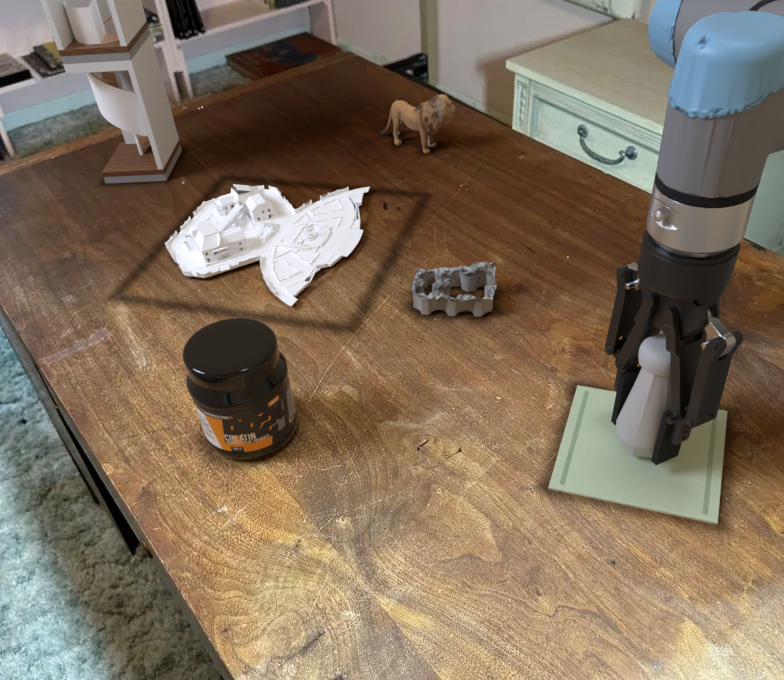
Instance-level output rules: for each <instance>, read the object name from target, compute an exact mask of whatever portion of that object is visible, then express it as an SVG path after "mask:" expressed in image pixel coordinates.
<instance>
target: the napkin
mask: <svg viewBox="0 0 784 680" xmlns="http://www.w3.org/2000/svg"><path fill="white" fill-rule="evenodd" d="M574 392H575V393H574V396H573V400H572V403H571V406H570V410H569V413H568V417H567V420H566V424H565V427H564V431H563V435H562V439H561V442H560V446H559V449H558V452H557V456H556V459H555V463H554V467H553V470H552V474H551V477H550V480H549V483H548V490H552V491H557V492H561V493H566V494H571V495H574V496H575V495H576V496H579V497H580V496H581V497H585V498H589V499H595V500H598V501H603V502H608V503H614V504H618V505H623V506H626V507H627V506H628V507H632V508H637V509H641V510H646V511H650V512H655V513H661V514H666V515H669V516H674V517H680V518H685V519H689V520H693V521H699V522H704V523H708V524H713V525H718V523H719V515H720V503H721V501H720V500H721V491H722V480H723V479H722V478H723V468H724V457H725V444H726V433H727V432H726V431H727V421H728V410H724V409H720V408H719V409H718V413H717V417H716V418H715V419H714V420H711V421H709V422H707V423H704V424H702V425H700V426H697V427H695V428H692V429H691V433H690V436H689V438H688V439H687V440H686V441H683V442H682V444H681V447H680V451H679V454H678V456H677V457H674V458H672V459H670V460H667V461H665V462H663V463H661V464H658V465H655V464H654V463H653V462H652V461H651V459H652V457H638V456H633V455H632V454H630V453H629V452H628V451H627V450H626V449H625V448H624V447H623V446H621V443H620V441H619V438H618V435H617V429H616V425H614V424H613V423H612V422H611V418H612V413H613V408H614V402H615V397H616V392H617V391H615V390H614V391H613V390H608V389H602V388H597V387H596V388H595V387H591V386H584V385H579V384H577V385H576V389H575V391H574Z"/></svg>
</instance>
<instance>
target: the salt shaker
mask: <svg viewBox="0 0 784 680" xmlns="http://www.w3.org/2000/svg"><path fill="white" fill-rule="evenodd" d="M638 358H639V364H638V365H639V366H642V368H641V370H640V373H639V375H638V377H637V379H636V381H635V383H634V385H633V387H632V390H631V392H630V394H629V396H628V398H627V400H626V402H625V404H624V406H623V408H622V410H621V412H620V414H619V416H618V418H617V420H616V429H617V435H618V438H619V441H620V443H621V446H623V447H624V448H625V449H626V450H627V451H628V452H629V453H630V454H632V455H633V456H638V457H652V455H653V451H654V447H655V443H656V439H657V435H658V432H659V428H660V424H661V420H662V416H663V413H664V412H667V411H669V410H671V357H670V352H668V351H667V350H666V335H665V334H664V332H662V333H659V334H655V335H652V336H650V337H648V338H646V339H645V340H644V341H643V343H642V344H641V346H640V348H639V353H638Z"/></svg>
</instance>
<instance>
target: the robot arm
mask: <svg viewBox="0 0 784 680" xmlns="http://www.w3.org/2000/svg"><path fill="white" fill-rule="evenodd" d="M648 20H649V21H648V28H647V29H648V31H647V33H648V34H647V35H648V42H649V45H650V50H651V51H652V52H653V54H654V56H655V57H656V58H658V59H659V60H660V61H661V62H663V63H664V64H666V65H667V66H668V67H670V68H671V69H673V75H672V78H671V80H670V83H669V86H668V91H667V95H668V97H667V103H666V104H667V105H666V110H665V117H664V121H663V128H662V134H661V139H660V145H659V151H658V157H657V163H656V169H655V174H654V180H653V184H652V185H653V186H652V190H651V196H650V200H649V206H648V211H647V216H646V221H645V227H646V230H645V231H644V233H643V235H642V240H641V246H640V251H639V255H638V260H637V261H634V262H632V263H628V264H626V265H623V266H620V267H618V268H617V269H616V294H615V298H614V303H613V308H612V311H611V316H610V320H609V326H608V331H607V334H606V340H605V344H604V351H605V353H606V354H607V355H608V356H613V357H614V359H615V360H614V366H615V368H616V374H615V380H614V386H613V387H614V391H615V392H616V397H615V402H614V408H613V413H612V418H611V422H612V423H613V424H614V425H616V420H617V418H618V416H619V414H620V412H621V410H622V408H623V406H624V404H625V402H626V400H627V398H628V396H629V394H630V392H631V390H632V387H633V385H634V383H635V381H636V379H637V377H638V375H639V373H640V370H641V368H642V366H641V365H640V364H639V358H638V353H639V348H640V346H641V344H642V343H643V341H644V340H645V339H646V338H648V337H650V336H652V335H655V334H660V332H661V331H662V333H664V334H665V335H666V350H667V351H668V352H670V357H671V410H669V411H667V412H664V413H663V416H662V420H661V424H660V428H659V432H658V435H657V439H656V443H655V447H654V451H653V455H652V459H651V461H652V462H653V463H654V464H655V465H658V464H661V463H663V462H665V461H667V460H670V459H672V458H674V457H677V456H678V454H679V451H680V447H681V444H682V442H683V441H686V440H687V439H688V438H689V436H690V433H691V429H692V428H695V427H697V426H700V425H702V424H704V423H707V422H709V421H711V420H714V419H715V418H716V417H717V413H718V409H719V410H720V405H721V402H722V397H723V393H724V390H725V387H726V382H727V378H728V375H729V370H730V367H731V363H732V360H733V356H734V354H735V352H736V351H737V350H738V349H739V347H740V346H741V345H742V343H743V341H744V336H743V333H742V332H741V331H740V330H739V329H734V330H731V331H729V330H728V329H727V327H726V326H725V325H724V324H723V323H722V322H721V320H720V316H721V309H720V299H721V297H722V295H723V294H724V292H725V291H726V289H727V287H728V286H729V285H730V282H731V280H732V277H733V274H734V271H735V268H736V264H737V260H738V257H739V254H740V250H741V242H742V240H743V239H744V238H745V235H746V232H747V229H748V225H749V222H750V217H751V214H752V211H753V207H754V203H755V200H756V196H757V192H758V189H759V186H760V184H761V180H762V176H763V173H764V170H765V167H766V163H767V160H768V157H769V156H770V155H772V154H775V153H778V152H782V151H784V0H655V3H654V4H653V7H652V9H651V13H650V16H649V19H648Z"/></svg>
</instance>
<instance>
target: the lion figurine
mask: <svg viewBox="0 0 784 680" xmlns="http://www.w3.org/2000/svg"><path fill="white" fill-rule="evenodd" d="M455 111H456V105H455V104H454V103H452V100H451V99H450V98H449V97H448V95H447V94H442V93H441V94H436V95H435V96H433V97H432V98H431V99H428V100H427V101H425V102H421V103H420V104H419V105H418V106H414V105H412V104H410V103H408V101H406V100H402V99H401V100H398V99H397V100H395V101H394V102H392V104H391V106H390V110H389V115H388V121H387V125H386V127H385V128H384V129H382V130H381V131H379V134H380V135H385V134H386V133H387V132H388V130H389V129H390V127H391V123H392V124H393V125H392V135H393V141H394V145H395V146H400V145H402V143H403V142H402V140H401V139H399V136H400V135H401V133H402V132H401V131H400V130H399V128H400V126H401V125H402V124H404V125H405V126H406V127H407V128H408V129H410V130H412V131H416V132H419V134H420V141H421V149H422V152H423V154H430V153H431V149H430V147H432V148H433V147H437V142H436V141H434V135H438V134H440V133H441V132H442V129H444V128H445V127H448V125H449V124H451V122H452V119H453V117H454V115H453V113H455Z"/></svg>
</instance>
